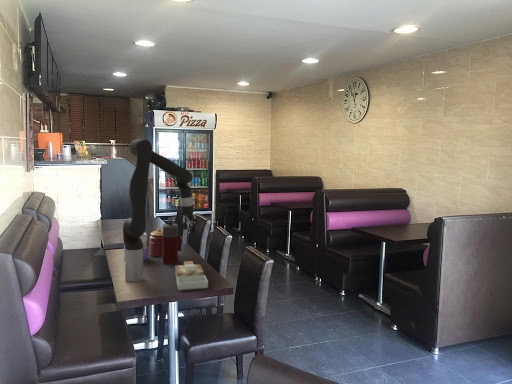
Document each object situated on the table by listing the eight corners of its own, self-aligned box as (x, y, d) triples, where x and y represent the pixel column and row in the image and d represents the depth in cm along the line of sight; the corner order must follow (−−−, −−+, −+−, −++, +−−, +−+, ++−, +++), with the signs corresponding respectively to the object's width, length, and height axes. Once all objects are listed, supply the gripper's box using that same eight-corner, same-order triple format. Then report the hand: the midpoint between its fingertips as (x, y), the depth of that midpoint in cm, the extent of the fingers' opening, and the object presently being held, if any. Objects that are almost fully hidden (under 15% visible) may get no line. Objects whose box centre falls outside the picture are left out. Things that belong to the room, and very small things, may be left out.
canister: (149, 257, 261) (149, 230, 259) (149, 252, 273) (149, 226, 271) (169, 256, 264) (169, 229, 262) (168, 251, 277) (168, 226, 275)
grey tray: (178, 290, 203) (178, 283, 202) (176, 283, 213) (176, 276, 213) (207, 288, 207) (208, 281, 206) (204, 281, 217) (204, 274, 217)
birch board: (177, 282, 214) (177, 273, 214) (175, 274, 228) (175, 265, 227) (203, 280, 218) (203, 271, 217) (200, 272, 231) (200, 264, 231)
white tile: (185, 271, 217) (185, 267, 216) (184, 268, 222) (184, 264, 221) (194, 271, 218) (194, 266, 218) (193, 268, 223) (193, 263, 223)
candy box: (124, 261, 250) (124, 235, 248) (123, 259, 255) (123, 233, 253) (147, 259, 255) (147, 234, 253) (146, 257, 260) (146, 232, 258)
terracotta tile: (184, 268, 222) (184, 264, 222) (183, 265, 227) (183, 261, 226) (193, 268, 223) (193, 263, 223) (192, 265, 228) (192, 261, 228)
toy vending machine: (181, 263, 248) (181, 218, 245) (163, 264, 246) (163, 219, 243) (180, 259, 257) (181, 216, 254) (162, 260, 254) (162, 216, 251)
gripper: (175, 204, 238) (178, 230, 242) (188, 207, 228) (191, 234, 231) (185, 201, 243) (188, 227, 247) (199, 204, 233) (202, 231, 236)
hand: (189, 230), depth 239 cm, fingers open, 8 cm apart
